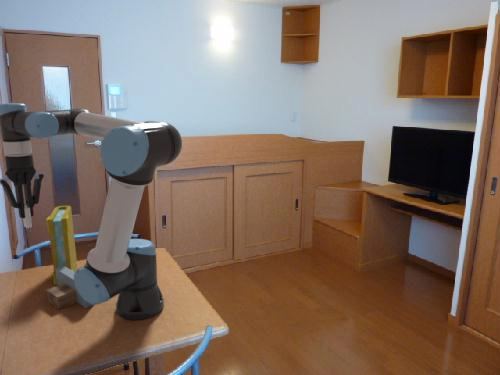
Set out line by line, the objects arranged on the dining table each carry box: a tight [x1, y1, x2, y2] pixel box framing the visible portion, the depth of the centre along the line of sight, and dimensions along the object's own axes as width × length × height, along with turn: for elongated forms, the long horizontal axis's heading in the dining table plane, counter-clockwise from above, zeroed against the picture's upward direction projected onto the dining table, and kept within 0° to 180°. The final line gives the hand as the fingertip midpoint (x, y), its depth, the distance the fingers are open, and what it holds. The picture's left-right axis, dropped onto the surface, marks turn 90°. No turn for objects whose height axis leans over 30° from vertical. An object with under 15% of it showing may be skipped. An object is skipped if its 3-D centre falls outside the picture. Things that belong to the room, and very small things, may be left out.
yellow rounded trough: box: [45, 205, 78, 286], centre depth 153 cm, size 17×7×25 cm, turn 17°
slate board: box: [55, 265, 94, 309], centre depth 138 cm, size 20×3×8 cm, turn 50°
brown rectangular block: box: [46, 283, 78, 310], centre depth 135 cm, size 8×6×4 cm
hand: (28, 226), depth 130 cm, fingers closed
